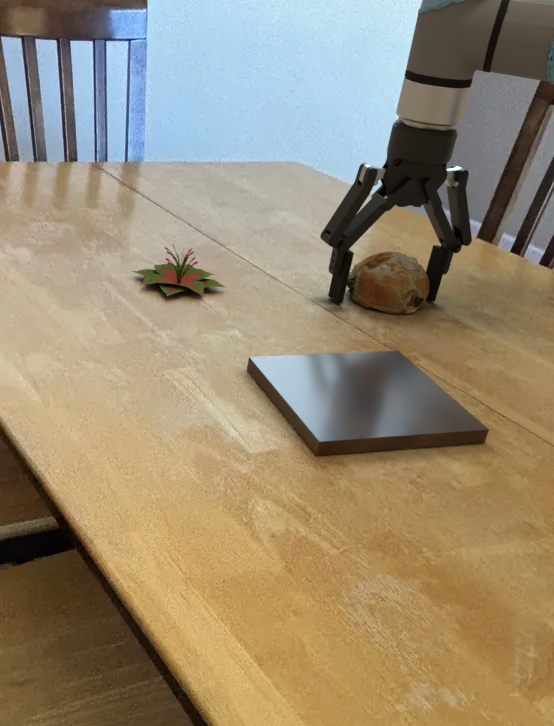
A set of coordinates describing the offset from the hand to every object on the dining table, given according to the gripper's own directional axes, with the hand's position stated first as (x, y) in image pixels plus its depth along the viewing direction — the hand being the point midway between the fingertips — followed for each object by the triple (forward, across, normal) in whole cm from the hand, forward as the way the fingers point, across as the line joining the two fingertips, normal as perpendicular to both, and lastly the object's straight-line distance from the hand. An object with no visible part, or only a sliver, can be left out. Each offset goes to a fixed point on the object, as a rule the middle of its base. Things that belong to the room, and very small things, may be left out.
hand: (381, 298), depth 114 cm
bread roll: (0, 0, 0) cm, 0 cm away
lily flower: (0, +26, -7) cm, 27 cm away
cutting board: (0, +17, +27) cm, 32 cm away
